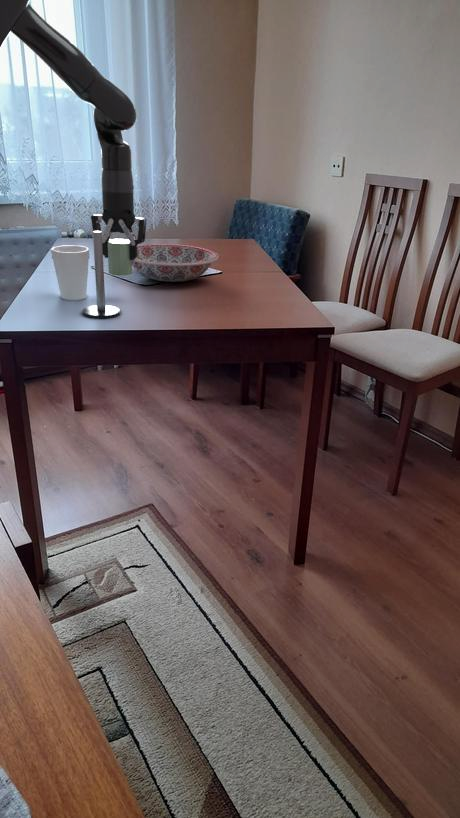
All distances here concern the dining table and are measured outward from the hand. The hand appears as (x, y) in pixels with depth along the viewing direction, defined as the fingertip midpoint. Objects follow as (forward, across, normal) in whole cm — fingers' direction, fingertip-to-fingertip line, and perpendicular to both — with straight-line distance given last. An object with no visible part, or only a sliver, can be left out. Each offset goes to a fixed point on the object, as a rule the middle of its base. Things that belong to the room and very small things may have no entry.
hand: (120, 258), depth 143 cm
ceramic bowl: (+12, +6, +28) cm, 31 cm away
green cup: (+4, 0, 0) cm, 4 cm away
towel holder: (+12, -1, -12) cm, 17 cm away
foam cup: (+12, -13, -1) cm, 18 cm away
